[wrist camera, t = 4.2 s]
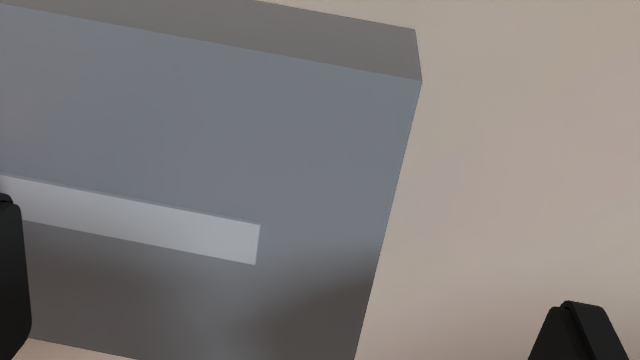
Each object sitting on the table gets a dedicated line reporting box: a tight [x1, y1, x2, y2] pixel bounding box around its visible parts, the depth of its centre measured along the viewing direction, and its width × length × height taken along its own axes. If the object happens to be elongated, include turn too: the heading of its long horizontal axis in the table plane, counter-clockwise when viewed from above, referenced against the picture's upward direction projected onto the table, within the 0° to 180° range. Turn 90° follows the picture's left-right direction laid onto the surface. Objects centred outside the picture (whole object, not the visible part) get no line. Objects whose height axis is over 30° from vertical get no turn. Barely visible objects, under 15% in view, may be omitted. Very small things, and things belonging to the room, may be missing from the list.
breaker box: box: [0, 0, 422, 360], centre depth 14 cm, size 16×8×4 cm, turn 81°
